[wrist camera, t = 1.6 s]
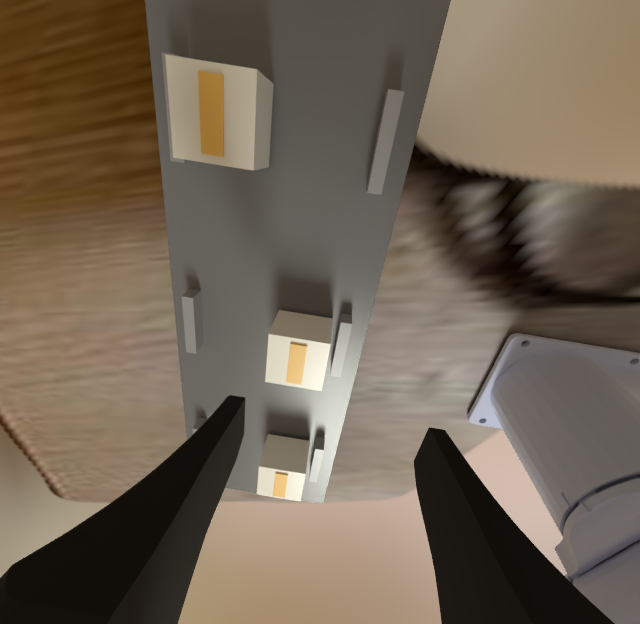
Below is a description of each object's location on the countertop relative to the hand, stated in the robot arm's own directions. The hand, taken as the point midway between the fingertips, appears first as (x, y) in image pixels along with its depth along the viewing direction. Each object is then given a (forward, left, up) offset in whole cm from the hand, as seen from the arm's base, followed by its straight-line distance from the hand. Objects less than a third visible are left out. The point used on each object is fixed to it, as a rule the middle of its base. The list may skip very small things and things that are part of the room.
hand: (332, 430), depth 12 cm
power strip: (+4, 0, -9) cm, 10 cm away
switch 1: (+6, -10, -6) cm, 13 cm away
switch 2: (+2, +10, -6) cm, 12 cm away
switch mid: (+2, 0, -6) cm, 7 cm away
